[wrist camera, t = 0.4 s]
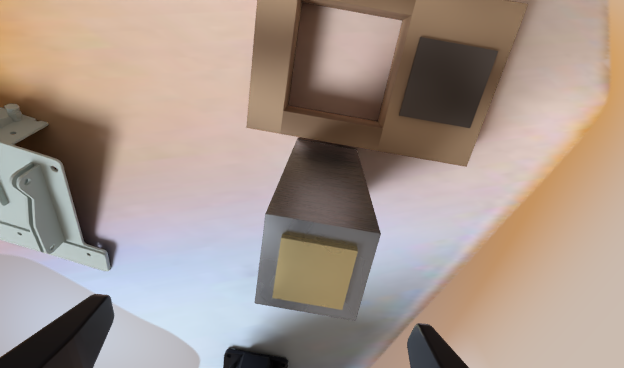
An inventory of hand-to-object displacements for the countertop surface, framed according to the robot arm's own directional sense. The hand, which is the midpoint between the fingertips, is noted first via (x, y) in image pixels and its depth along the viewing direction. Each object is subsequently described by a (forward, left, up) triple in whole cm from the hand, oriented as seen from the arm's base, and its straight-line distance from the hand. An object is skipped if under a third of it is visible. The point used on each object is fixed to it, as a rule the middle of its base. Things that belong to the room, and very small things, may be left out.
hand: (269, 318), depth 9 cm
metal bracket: (-7, +23, -16) cm, 29 cm away
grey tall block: (-1, -1, -16) cm, 16 cm away
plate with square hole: (+7, -3, -16) cm, 17 cm away
